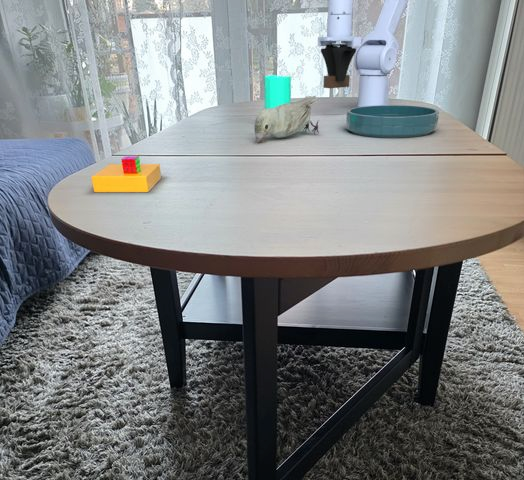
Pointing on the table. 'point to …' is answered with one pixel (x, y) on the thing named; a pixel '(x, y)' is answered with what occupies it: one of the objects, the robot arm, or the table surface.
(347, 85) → the brown block
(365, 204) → the table surface
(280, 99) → the candle
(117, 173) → the yellow slab
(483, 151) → the table surface
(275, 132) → the decorative bird
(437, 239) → the table surface
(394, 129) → the bowl
